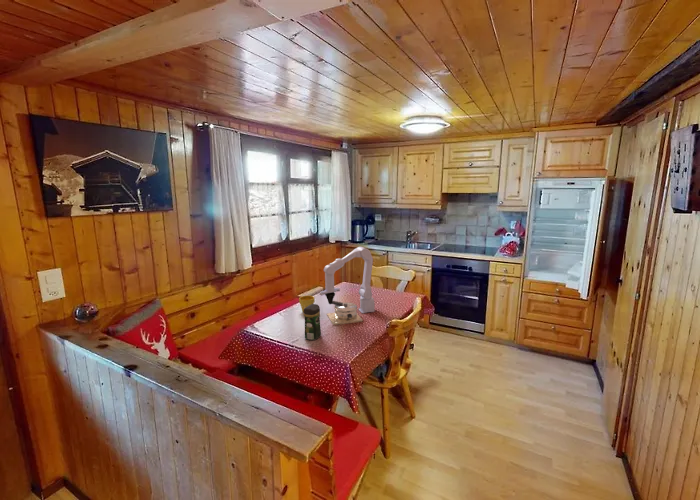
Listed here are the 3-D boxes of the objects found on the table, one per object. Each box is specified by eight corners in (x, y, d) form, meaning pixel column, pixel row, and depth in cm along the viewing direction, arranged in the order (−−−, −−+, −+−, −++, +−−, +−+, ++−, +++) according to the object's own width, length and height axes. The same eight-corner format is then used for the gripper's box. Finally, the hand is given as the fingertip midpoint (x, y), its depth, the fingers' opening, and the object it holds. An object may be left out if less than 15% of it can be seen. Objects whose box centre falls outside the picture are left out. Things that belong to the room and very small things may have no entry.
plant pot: (312, 314, 219) (311, 300, 217) (297, 313, 221) (296, 299, 219) (316, 309, 229) (316, 295, 227) (302, 308, 231) (302, 295, 229)
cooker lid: (361, 306, 214) (361, 302, 214) (349, 313, 202) (349, 309, 202) (338, 301, 224) (338, 297, 223) (325, 308, 212) (325, 304, 211)
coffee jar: (310, 332, 191) (309, 302, 188) (322, 334, 188) (321, 303, 185) (302, 339, 182) (300, 307, 179) (314, 341, 179) (313, 309, 176)
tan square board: (352, 309, 227) (352, 301, 226) (362, 321, 206) (362, 312, 205) (325, 312, 221) (325, 304, 220) (333, 325, 201) (333, 316, 199)
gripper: (335, 280, 220) (335, 299, 222) (316, 284, 211) (317, 304, 213) (341, 282, 214) (342, 302, 216) (322, 286, 205) (323, 307, 208)
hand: (330, 303), depth 215 cm, fingers closed
